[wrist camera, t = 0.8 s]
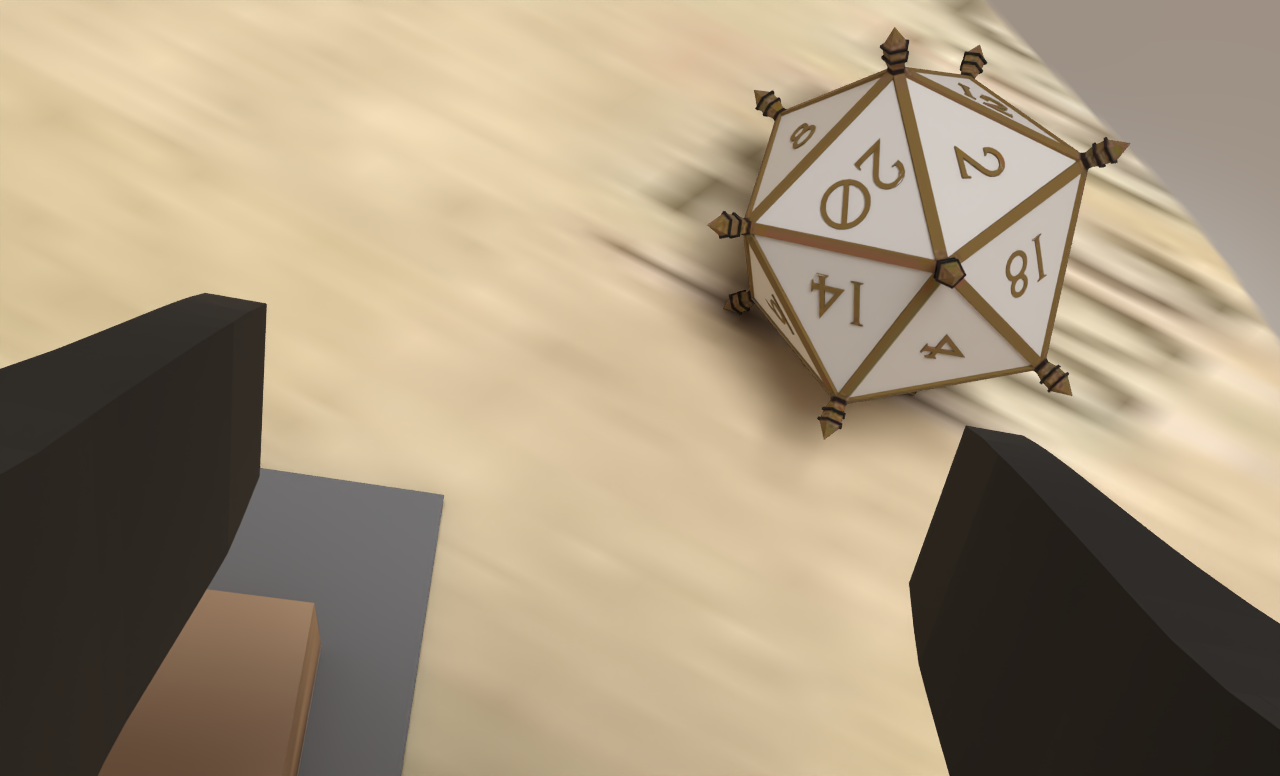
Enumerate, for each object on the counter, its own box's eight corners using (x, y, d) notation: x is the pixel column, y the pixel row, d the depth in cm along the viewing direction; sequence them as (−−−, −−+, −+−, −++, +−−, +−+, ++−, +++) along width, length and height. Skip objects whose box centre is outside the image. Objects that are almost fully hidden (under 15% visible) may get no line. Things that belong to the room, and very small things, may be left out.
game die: (792, 419, 33) (839, 573, 23) (641, 145, 31) (626, 191, 21) (1094, 264, 32) (1276, 360, 22) (956, -33, 30) (1090, -70, 20)
